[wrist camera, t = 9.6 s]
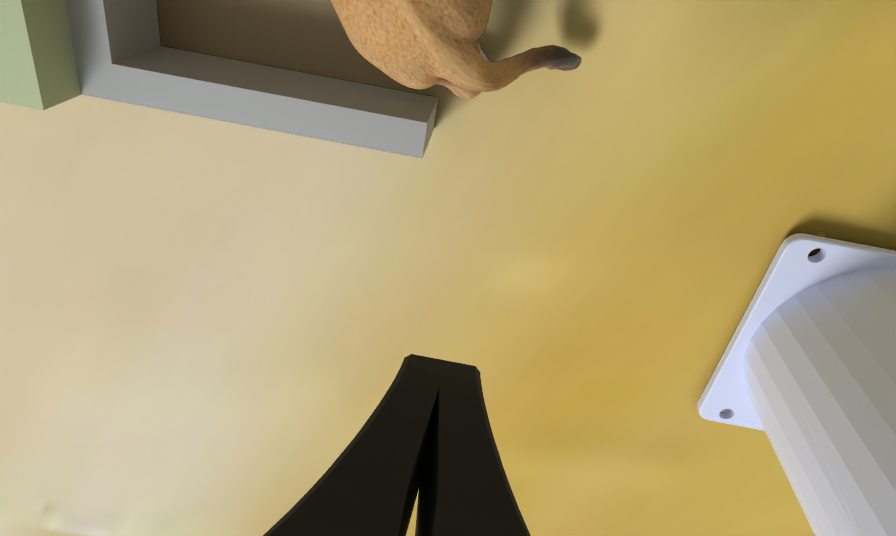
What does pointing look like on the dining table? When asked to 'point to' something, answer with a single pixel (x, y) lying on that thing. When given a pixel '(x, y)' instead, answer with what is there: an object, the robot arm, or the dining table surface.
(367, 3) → the lion figurine
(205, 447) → the dining table surface
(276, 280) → the dining table surface
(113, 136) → the dining table surface
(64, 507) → the dining table surface
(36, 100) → the l-rail base plate
